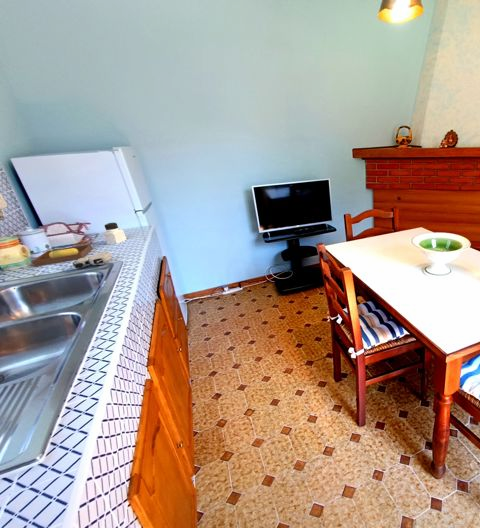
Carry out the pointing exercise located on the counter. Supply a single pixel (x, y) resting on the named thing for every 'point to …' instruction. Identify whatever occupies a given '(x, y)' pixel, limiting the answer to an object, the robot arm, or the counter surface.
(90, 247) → the tray
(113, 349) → the counter surface
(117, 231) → the medicine bottle
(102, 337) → the counter surface
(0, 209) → the robot arm
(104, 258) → the robot toy
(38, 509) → the counter surface
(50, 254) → the corn cob
